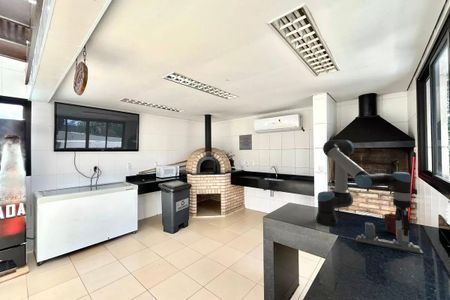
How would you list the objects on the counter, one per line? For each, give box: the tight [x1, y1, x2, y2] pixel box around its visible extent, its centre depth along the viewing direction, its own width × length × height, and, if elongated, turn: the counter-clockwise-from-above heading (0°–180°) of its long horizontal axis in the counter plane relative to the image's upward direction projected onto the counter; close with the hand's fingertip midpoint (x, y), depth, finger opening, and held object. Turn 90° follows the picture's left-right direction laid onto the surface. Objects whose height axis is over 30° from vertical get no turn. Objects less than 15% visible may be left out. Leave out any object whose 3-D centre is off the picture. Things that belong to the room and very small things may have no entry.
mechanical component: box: [382, 212, 401, 235], centre depth 131 cm, size 12×10×10 cm
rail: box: [355, 221, 424, 255], centre depth 114 cm, size 30×5×12 cm, turn 59°
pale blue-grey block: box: [395, 227, 410, 246], centre depth 110 cm, size 5×4×9 cm
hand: (402, 236), depth 110 cm, fingers open, 13 cm apart
